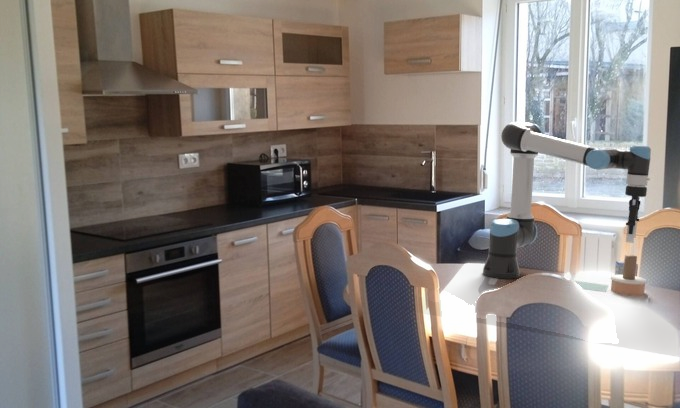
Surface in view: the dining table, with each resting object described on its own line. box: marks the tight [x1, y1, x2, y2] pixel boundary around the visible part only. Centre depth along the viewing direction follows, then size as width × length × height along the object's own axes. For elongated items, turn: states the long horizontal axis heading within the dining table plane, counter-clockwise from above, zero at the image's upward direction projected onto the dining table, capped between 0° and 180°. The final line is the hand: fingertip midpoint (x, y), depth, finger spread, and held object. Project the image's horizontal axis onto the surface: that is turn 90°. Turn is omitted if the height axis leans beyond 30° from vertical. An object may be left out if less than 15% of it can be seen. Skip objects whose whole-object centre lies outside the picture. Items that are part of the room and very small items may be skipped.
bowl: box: [610, 279, 646, 296], centre depth 272 cm, size 12×12×5 cm
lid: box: [610, 254, 648, 285], centre depth 271 cm, size 13×13×10 cm
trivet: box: [574, 280, 610, 293], centre depth 279 cm, size 13×13×1 cm
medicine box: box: [614, 260, 639, 277], centre depth 290 cm, size 8×4×9 cm, turn 84°
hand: (630, 239), depth 271 cm, fingers open, 13 cm apart
